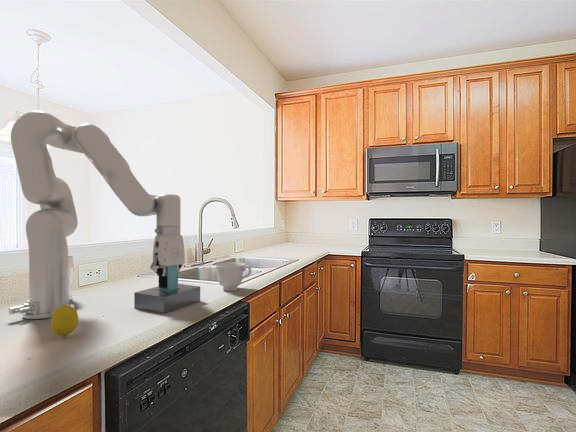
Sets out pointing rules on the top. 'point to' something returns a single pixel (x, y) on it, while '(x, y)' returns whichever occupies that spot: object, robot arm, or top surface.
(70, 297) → the beer glass
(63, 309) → the lemon
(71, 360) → the top surface
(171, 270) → the square peg
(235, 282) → the teacup
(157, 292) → the socket block
